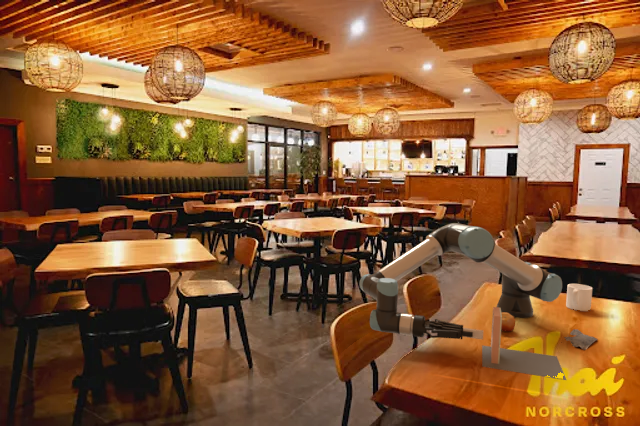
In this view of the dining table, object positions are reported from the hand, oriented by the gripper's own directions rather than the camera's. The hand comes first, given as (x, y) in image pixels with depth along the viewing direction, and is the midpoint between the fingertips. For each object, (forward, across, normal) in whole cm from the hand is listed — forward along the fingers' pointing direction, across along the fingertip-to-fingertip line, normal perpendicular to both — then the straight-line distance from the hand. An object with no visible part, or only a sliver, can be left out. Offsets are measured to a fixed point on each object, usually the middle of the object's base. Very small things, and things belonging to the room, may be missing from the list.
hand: (483, 334), depth 145 cm
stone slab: (+35, -30, -9) cm, 47 cm away
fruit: (+8, -30, -8) cm, 32 cm away
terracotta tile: (+4, -1, -7) cm, 8 cm away
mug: (+42, -74, -8) cm, 86 cm away
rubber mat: (+12, -1, -8) cm, 14 cm away
